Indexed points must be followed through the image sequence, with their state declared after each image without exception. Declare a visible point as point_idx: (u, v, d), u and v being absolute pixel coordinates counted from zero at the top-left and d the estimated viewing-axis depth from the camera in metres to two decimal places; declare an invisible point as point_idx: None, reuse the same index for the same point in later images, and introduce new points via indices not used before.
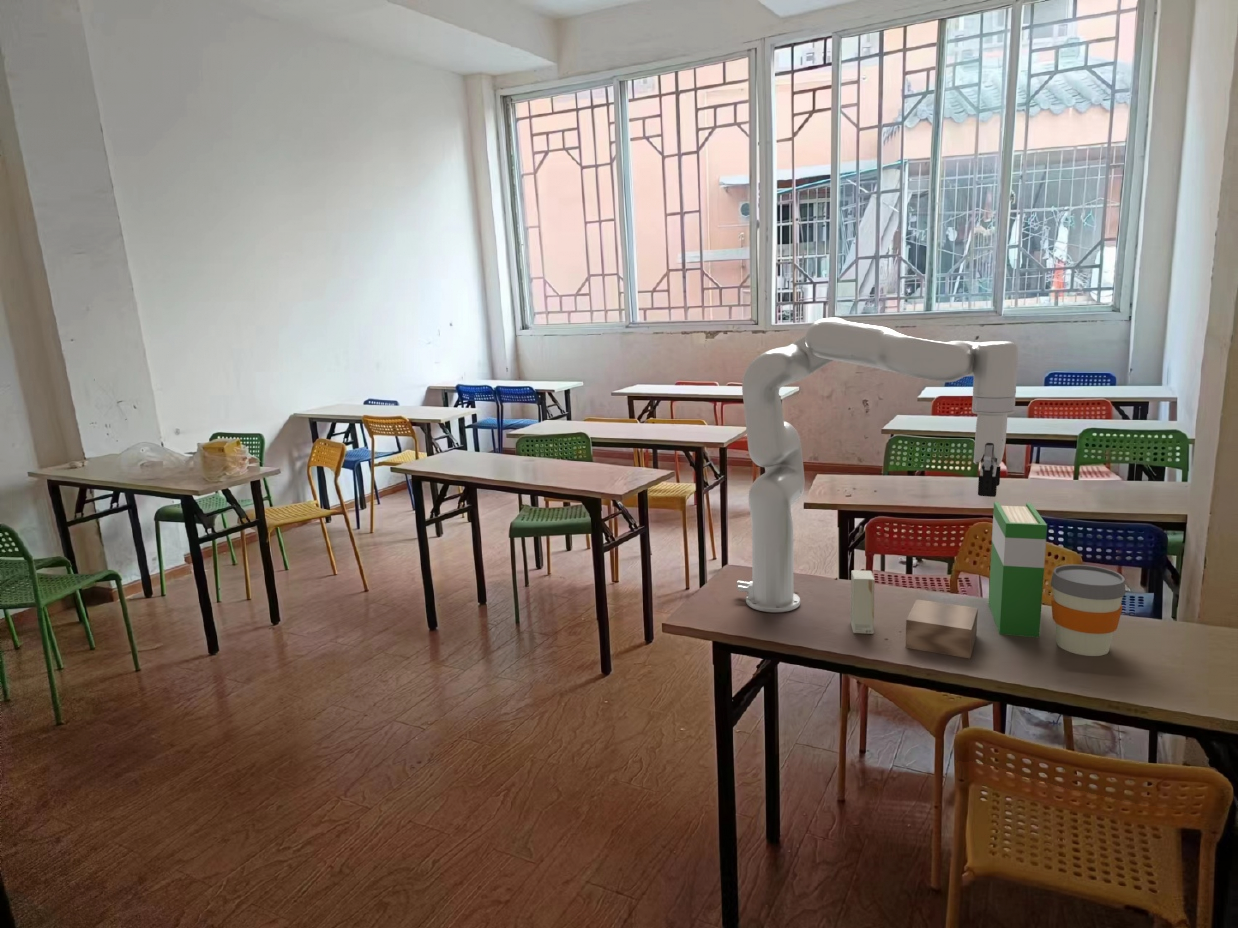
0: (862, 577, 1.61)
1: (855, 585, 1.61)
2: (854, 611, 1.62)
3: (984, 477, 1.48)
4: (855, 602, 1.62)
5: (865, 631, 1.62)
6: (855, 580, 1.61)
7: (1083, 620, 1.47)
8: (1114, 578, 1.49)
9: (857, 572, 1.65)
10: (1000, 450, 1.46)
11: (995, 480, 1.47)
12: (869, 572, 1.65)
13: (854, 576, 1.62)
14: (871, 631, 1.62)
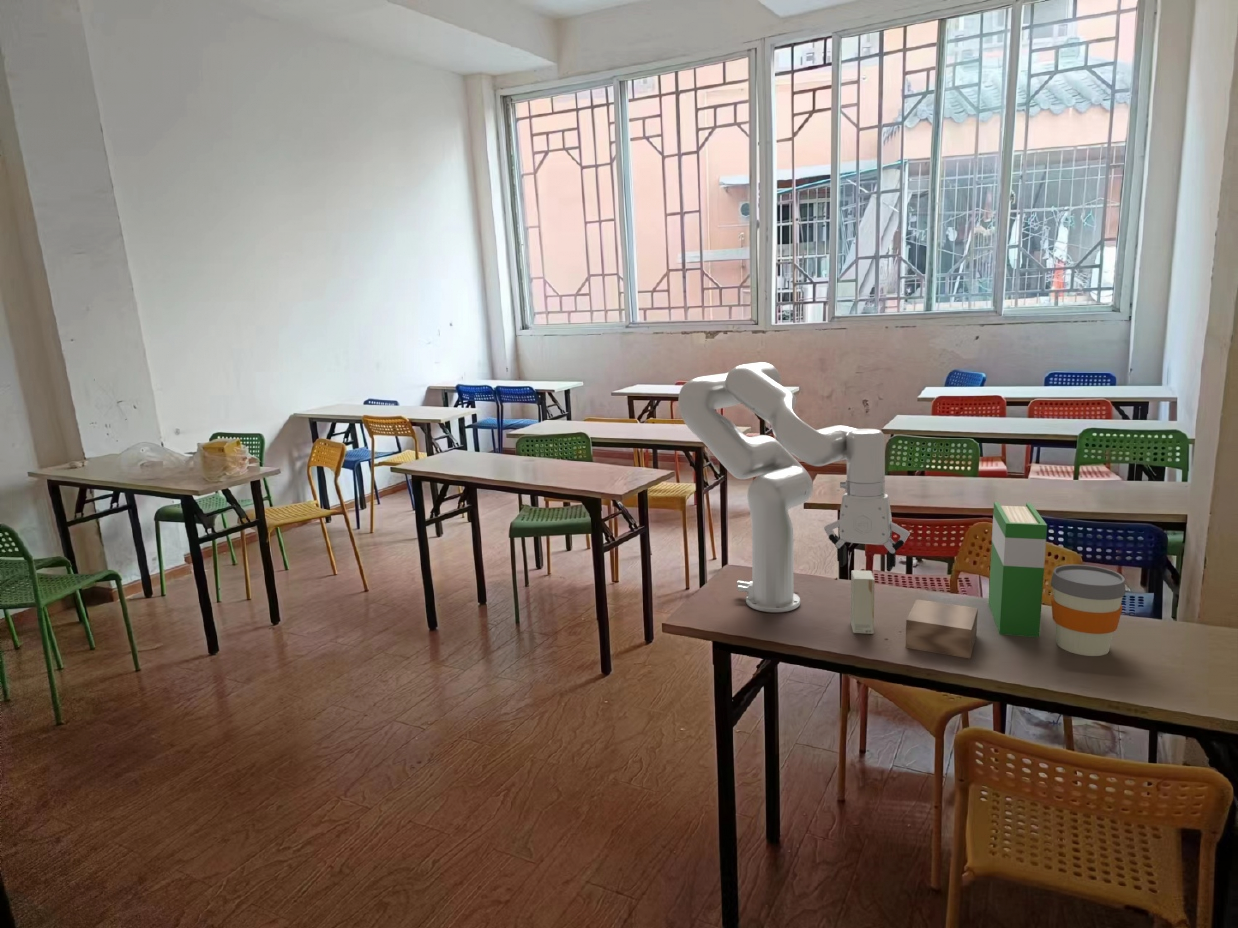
0: (862, 577, 1.61)
1: (855, 585, 1.61)
2: (854, 611, 1.62)
3: (894, 553, 1.58)
4: (855, 602, 1.62)
5: (865, 631, 1.62)
6: (855, 580, 1.61)
7: (1083, 620, 1.47)
8: (1114, 578, 1.49)
9: (857, 572, 1.65)
10: None
11: None
12: (869, 572, 1.65)
13: (854, 576, 1.62)
14: (871, 631, 1.62)
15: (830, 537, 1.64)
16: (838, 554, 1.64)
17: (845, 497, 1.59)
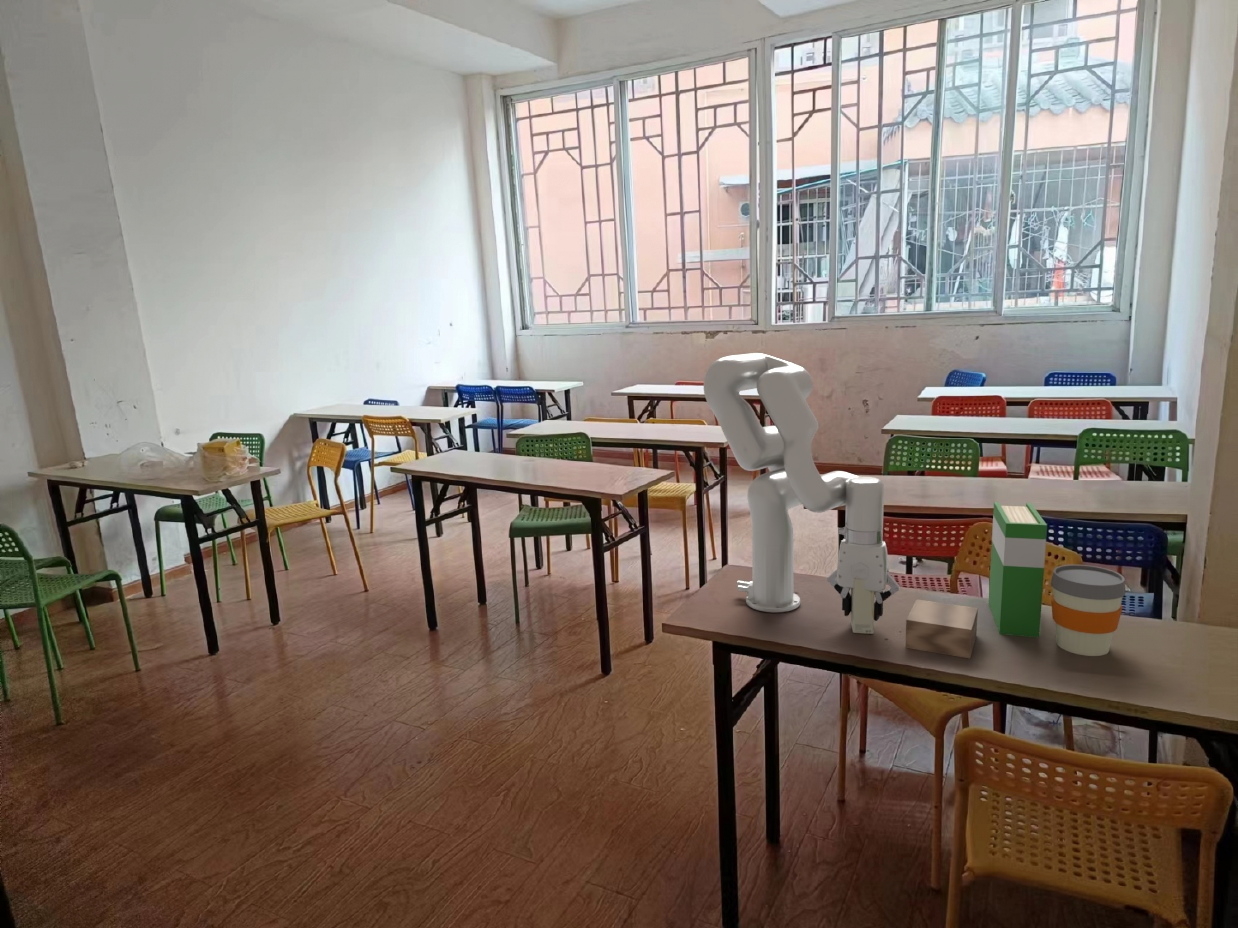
0: None
1: (855, 585, 1.61)
2: (854, 611, 1.62)
3: (881, 603, 1.62)
4: (855, 602, 1.62)
5: (865, 631, 1.62)
6: (855, 580, 1.61)
7: (1083, 620, 1.47)
8: (1114, 578, 1.49)
9: None
10: None
11: None
12: None
13: None
14: (871, 631, 1.62)
15: (835, 586, 1.66)
16: (843, 603, 1.66)
17: (843, 544, 1.62)
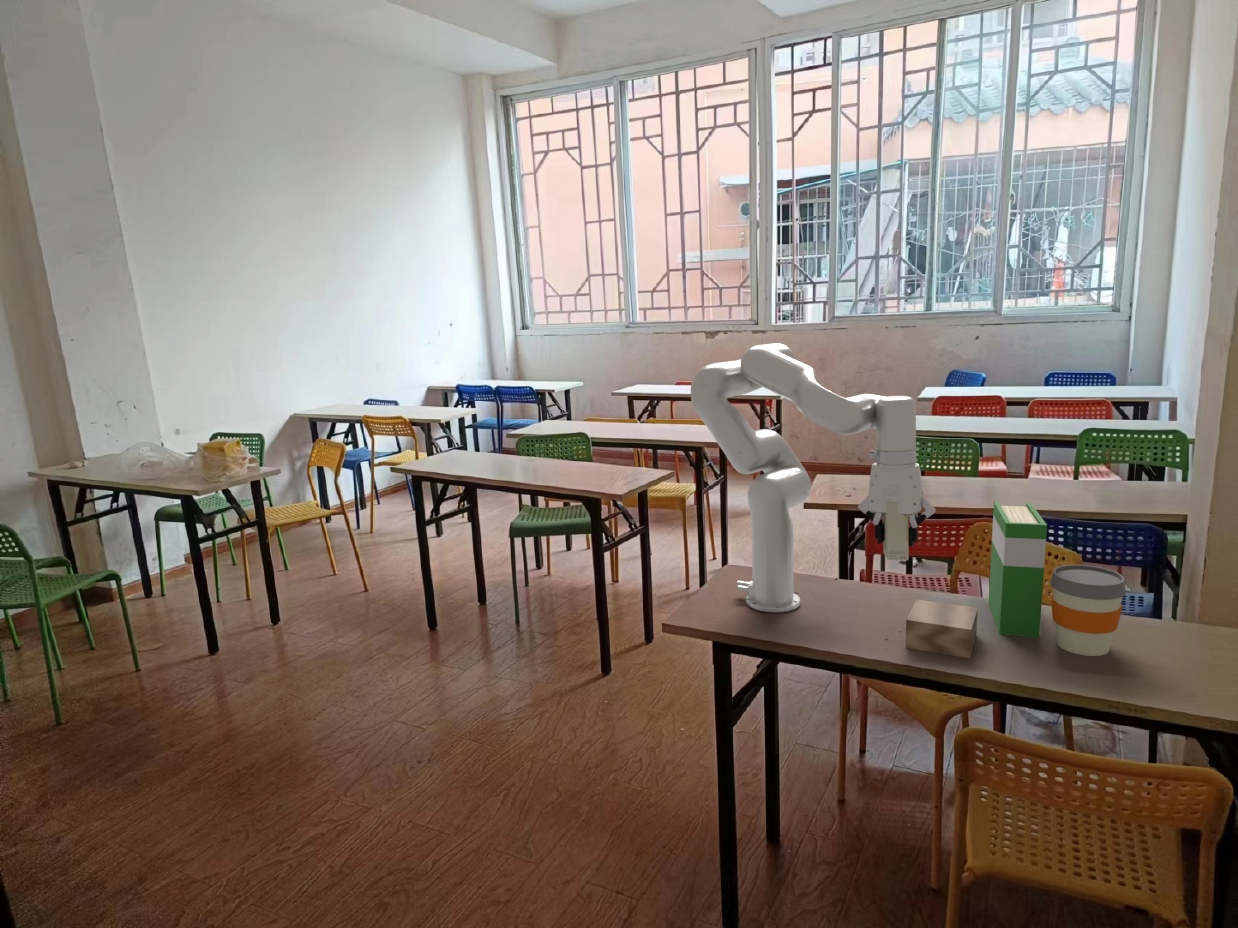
0: None
1: (888, 509, 1.54)
2: (887, 537, 1.55)
3: (916, 527, 1.55)
4: (888, 527, 1.55)
5: (900, 557, 1.55)
6: (888, 504, 1.54)
7: (1083, 620, 1.47)
8: (1114, 578, 1.49)
9: None
10: None
11: None
12: None
13: None
14: (906, 557, 1.55)
15: (867, 513, 1.59)
16: (876, 531, 1.59)
17: (875, 466, 1.55)
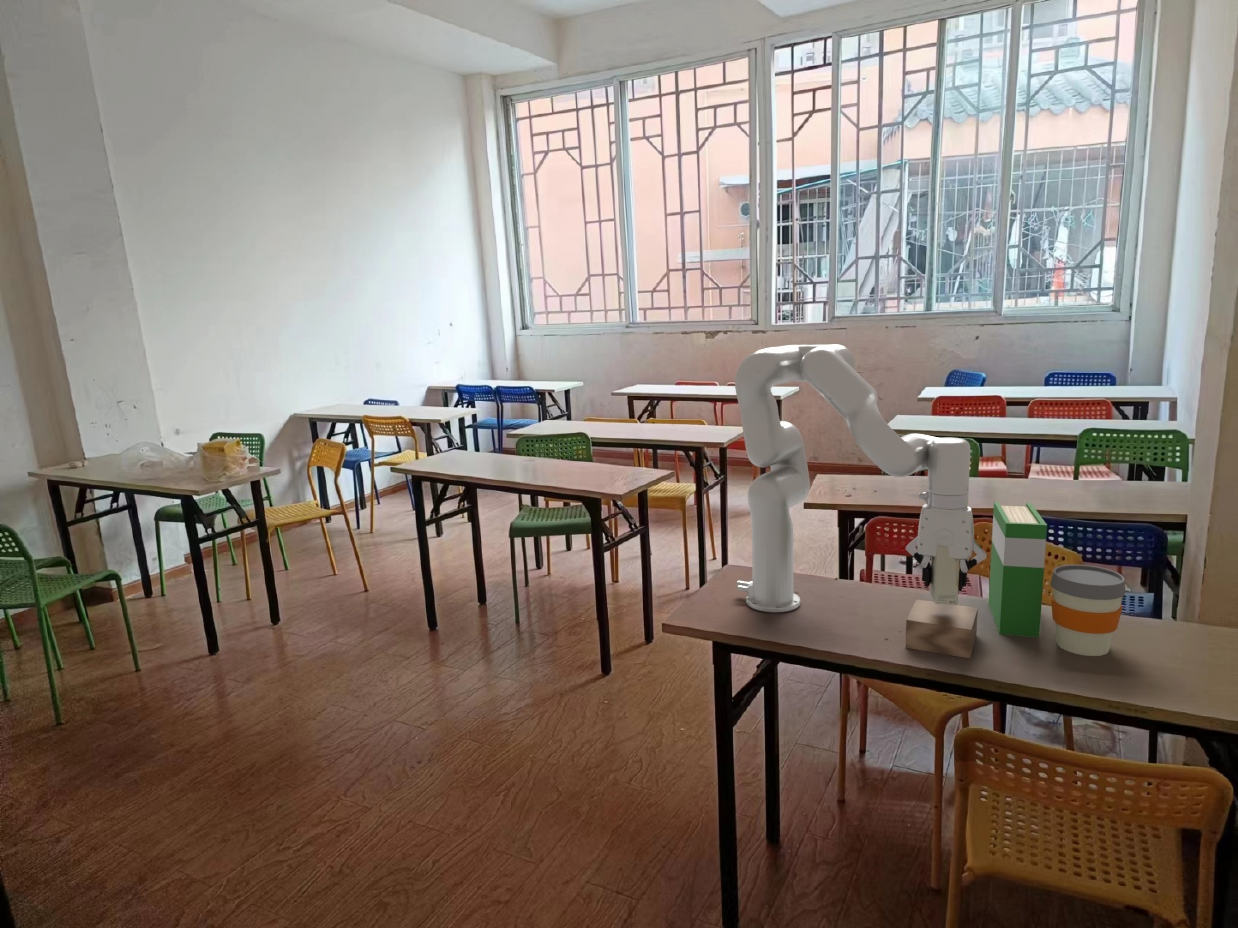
0: None
1: (939, 553, 1.51)
2: (937, 581, 1.52)
3: (966, 572, 1.52)
4: (938, 571, 1.52)
5: (949, 602, 1.52)
6: (939, 547, 1.51)
7: (1083, 620, 1.47)
8: (1114, 578, 1.49)
9: None
10: None
11: None
12: None
13: None
14: (955, 602, 1.52)
15: (915, 556, 1.56)
16: (923, 574, 1.56)
17: (925, 509, 1.52)
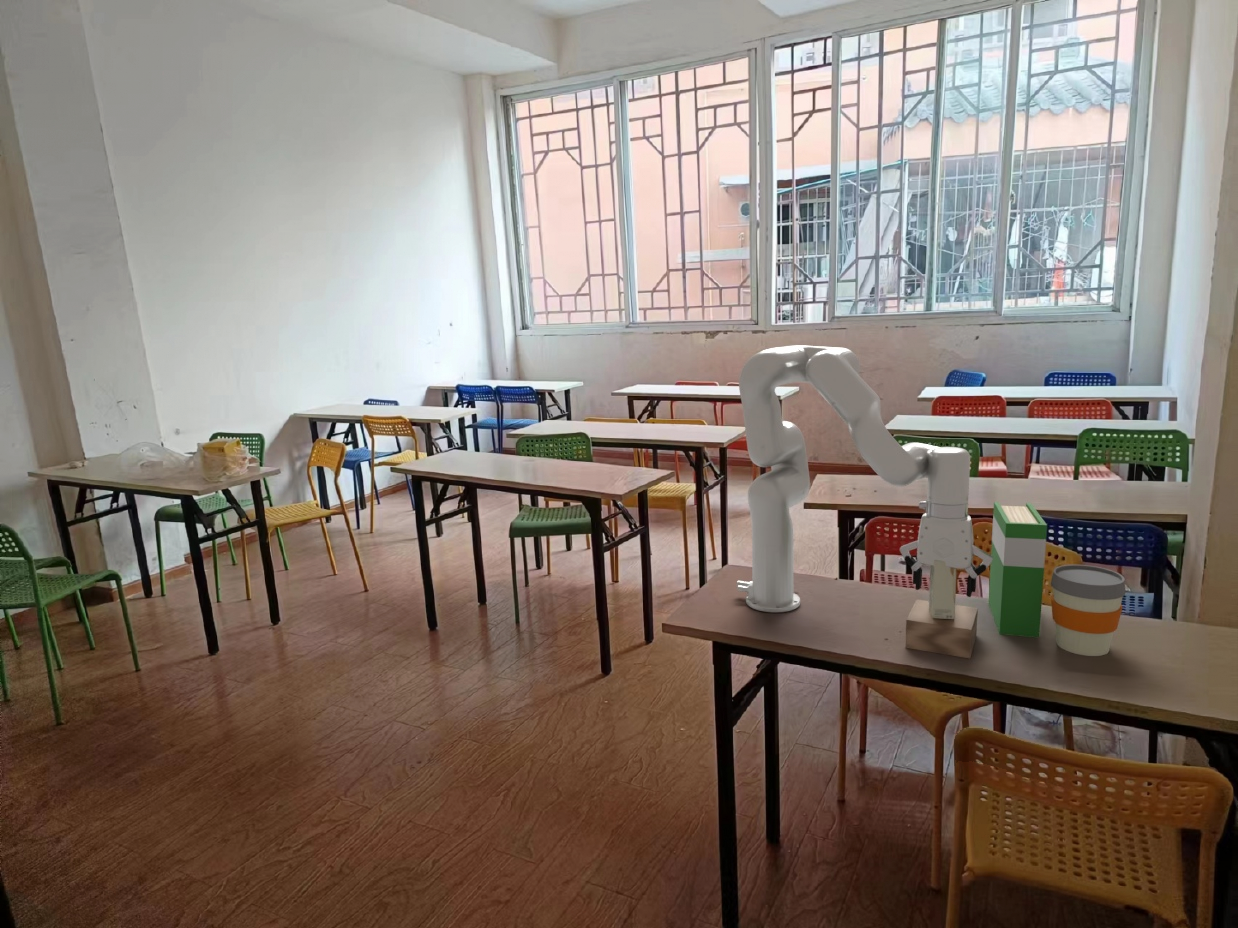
0: None
1: (935, 567, 1.52)
2: (934, 595, 1.53)
3: (975, 577, 1.51)
4: (935, 585, 1.53)
5: (945, 616, 1.53)
6: (936, 562, 1.52)
7: (1083, 620, 1.47)
8: (1114, 578, 1.49)
9: None
10: None
11: None
12: None
13: None
14: (952, 616, 1.53)
15: (906, 559, 1.57)
16: (914, 577, 1.57)
17: (925, 518, 1.52)
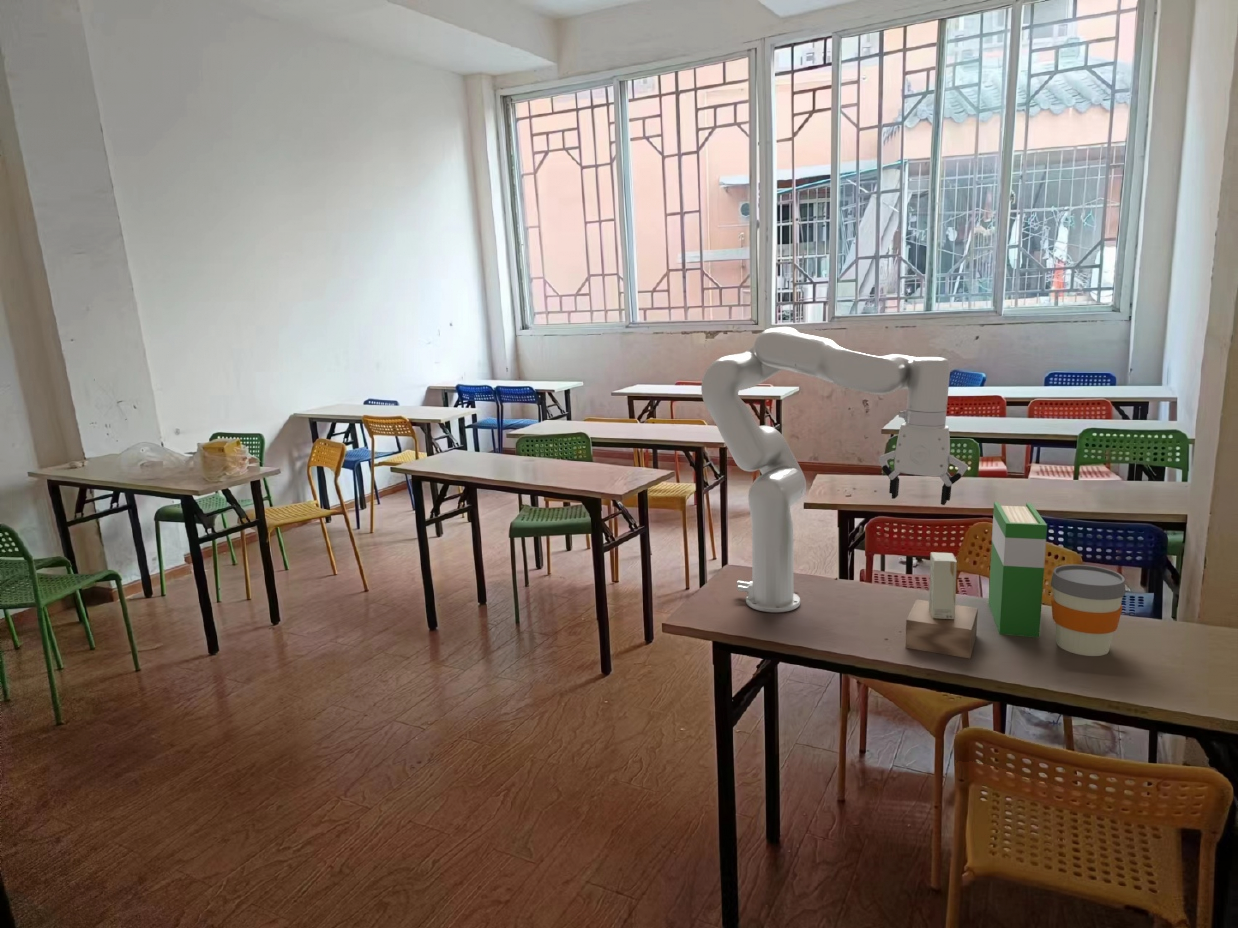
0: (943, 559, 1.52)
1: (935, 567, 1.52)
2: (934, 595, 1.53)
3: (950, 486, 1.54)
4: (935, 585, 1.53)
5: (945, 616, 1.53)
6: (936, 562, 1.52)
7: (1083, 620, 1.47)
8: (1114, 578, 1.49)
9: (937, 554, 1.56)
10: None
11: None
12: (950, 554, 1.56)
13: (934, 558, 1.54)
14: (952, 616, 1.53)
15: (884, 468, 1.60)
16: (891, 486, 1.60)
17: (904, 426, 1.55)
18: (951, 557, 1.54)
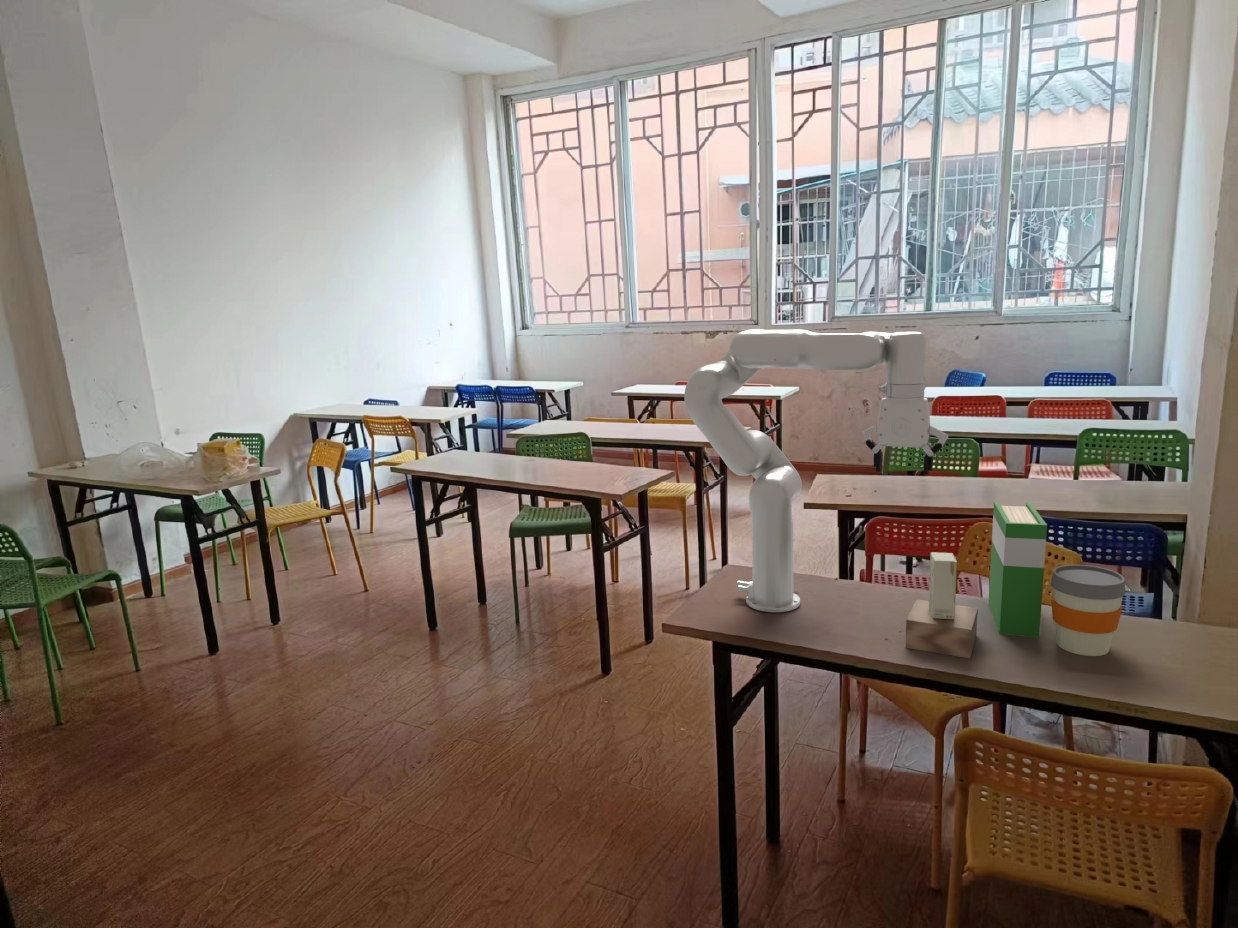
0: (943, 559, 1.52)
1: (935, 567, 1.52)
2: (934, 595, 1.53)
3: (932, 456, 1.59)
4: (935, 585, 1.53)
5: (945, 616, 1.53)
6: (936, 562, 1.52)
7: (1083, 620, 1.47)
8: (1114, 578, 1.49)
9: (937, 554, 1.56)
10: None
11: None
12: (950, 554, 1.56)
13: (934, 558, 1.54)
14: (952, 616, 1.53)
15: (867, 442, 1.64)
16: (874, 459, 1.64)
17: (884, 400, 1.60)
18: (951, 557, 1.54)
